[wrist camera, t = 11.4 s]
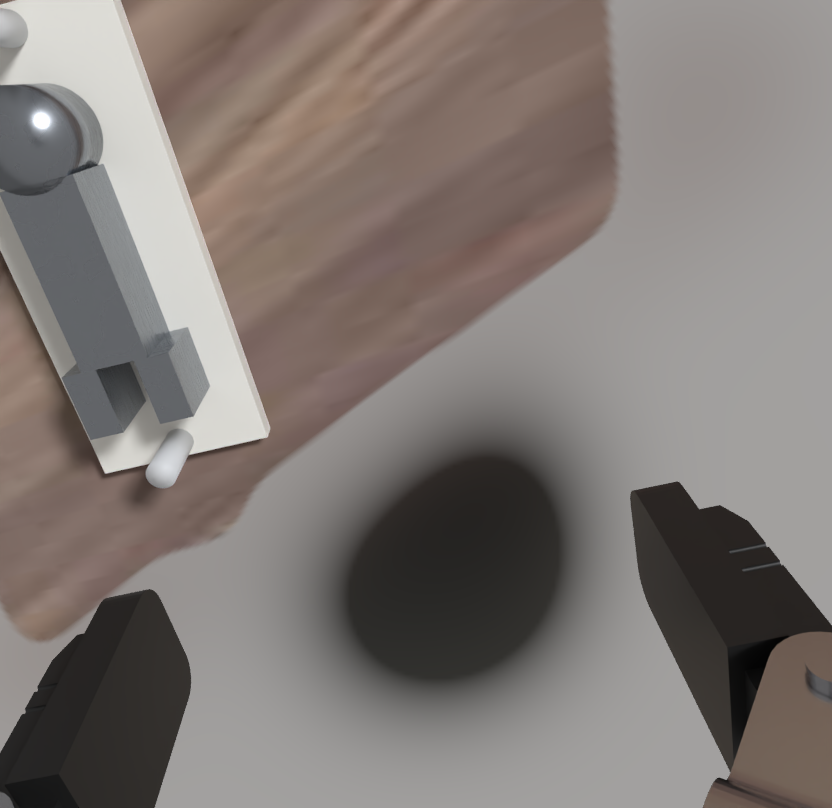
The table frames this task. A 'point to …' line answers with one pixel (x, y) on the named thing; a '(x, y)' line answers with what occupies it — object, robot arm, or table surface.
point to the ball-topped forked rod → (90, 264)
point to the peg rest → (133, 227)
